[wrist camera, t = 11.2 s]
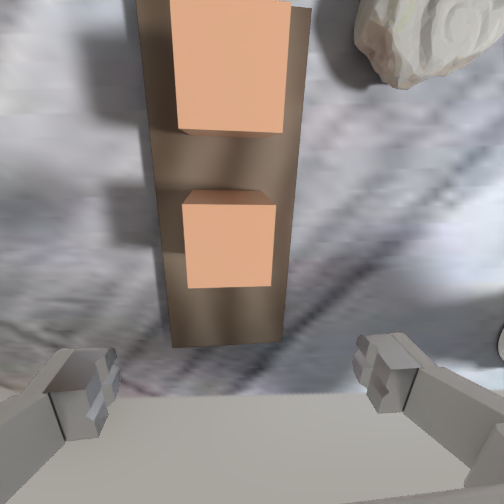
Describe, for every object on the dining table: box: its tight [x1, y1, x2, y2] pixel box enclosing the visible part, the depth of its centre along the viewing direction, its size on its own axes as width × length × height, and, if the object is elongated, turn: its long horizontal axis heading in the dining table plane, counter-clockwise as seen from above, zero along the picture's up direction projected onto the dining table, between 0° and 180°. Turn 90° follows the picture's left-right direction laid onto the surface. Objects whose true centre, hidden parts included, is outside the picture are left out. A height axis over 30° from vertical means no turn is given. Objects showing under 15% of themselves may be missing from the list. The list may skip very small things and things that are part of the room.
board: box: [136, 0, 312, 348], centre depth 25 cm, size 13×32×1 cm, turn 178°
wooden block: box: [182, 190, 276, 288], centre depth 22 cm, size 6×6×7 cm
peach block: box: [170, 0, 291, 138], centre depth 18 cm, size 6×6×7 cm
